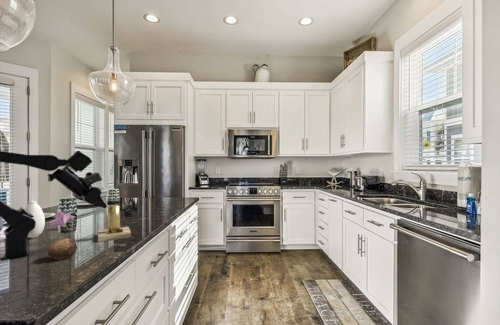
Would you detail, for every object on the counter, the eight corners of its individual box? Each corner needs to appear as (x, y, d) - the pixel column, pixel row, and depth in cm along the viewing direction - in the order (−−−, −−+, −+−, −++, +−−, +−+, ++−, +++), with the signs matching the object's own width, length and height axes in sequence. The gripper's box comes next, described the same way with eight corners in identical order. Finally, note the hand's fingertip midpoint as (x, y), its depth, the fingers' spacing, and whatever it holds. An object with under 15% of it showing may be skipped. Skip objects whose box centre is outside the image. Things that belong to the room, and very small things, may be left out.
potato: (53, 244, 90) (57, 231, 88) (78, 250, 93) (82, 238, 91) (40, 263, 83) (44, 250, 81) (67, 268, 86) (71, 256, 84)
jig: (131, 237, 109) (131, 232, 109) (98, 241, 103) (97, 236, 103) (128, 230, 119) (128, 226, 119) (98, 234, 113) (98, 230, 113)
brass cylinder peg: (118, 237, 110) (118, 206, 110) (107, 237, 108) (106, 206, 108) (121, 234, 114) (120, 204, 114) (110, 235, 113) (109, 205, 113)
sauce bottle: (49, 235, 112) (48, 194, 112) (29, 241, 105) (29, 196, 104) (36, 234, 114) (35, 193, 114) (15, 239, 107) (15, 196, 107)
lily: (79, 227, 131) (72, 211, 132) (80, 222, 122) (72, 206, 123) (53, 238, 124) (46, 221, 124) (52, 234, 115) (44, 216, 116)
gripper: (95, 166, 98) (125, 193, 106) (81, 165, 110) (109, 189, 119) (70, 188, 92) (104, 215, 100) (58, 185, 105) (89, 208, 113)
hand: (102, 205), depth 108 cm, fingers open, 9 cm apart
